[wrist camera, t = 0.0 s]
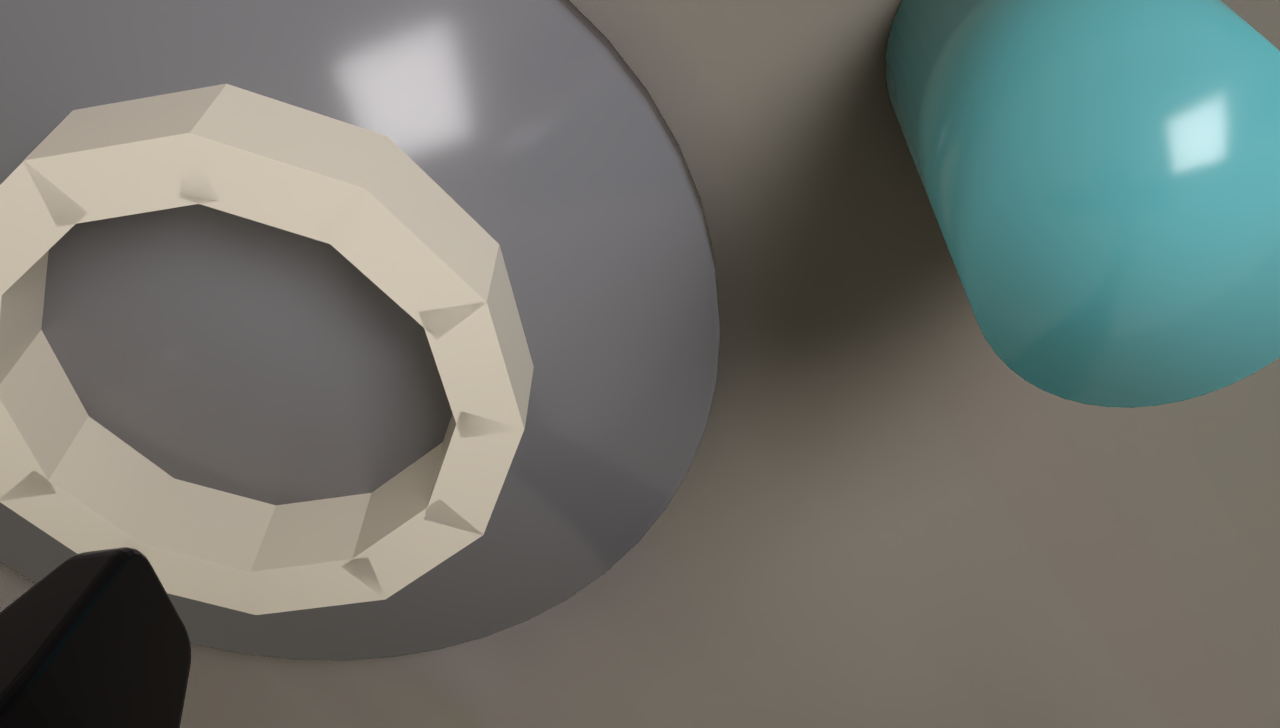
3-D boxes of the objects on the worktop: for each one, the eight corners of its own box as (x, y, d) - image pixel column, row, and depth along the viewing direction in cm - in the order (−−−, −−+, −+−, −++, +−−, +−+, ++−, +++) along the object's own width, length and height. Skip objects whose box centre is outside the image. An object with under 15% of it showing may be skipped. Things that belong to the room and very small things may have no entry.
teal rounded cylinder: (1169, 158, 22) (1345, 381, 17) (894, 200, 23) (973, 429, 17) (1189, -124, 20) (1410, 27, 14) (875, -69, 20) (962, 98, 14)
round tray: (768, 581, 29) (778, 681, 26) (54, 666, 31) (1, 767, 28) (628, -259, 18) (624, -225, 16) (-425, -51, 20) (-573, 8, 18)
